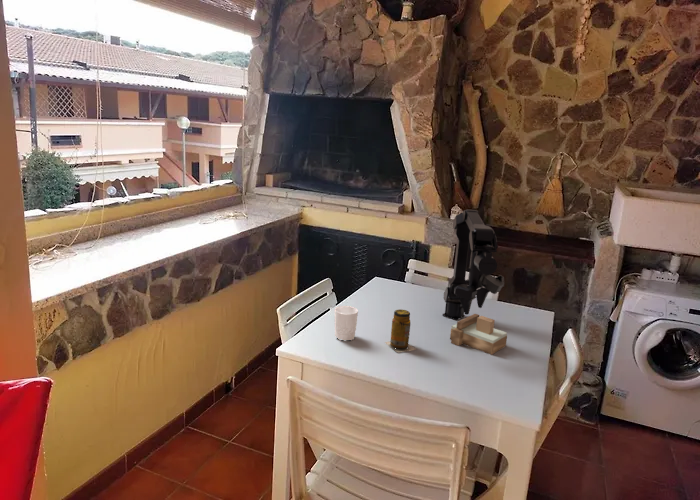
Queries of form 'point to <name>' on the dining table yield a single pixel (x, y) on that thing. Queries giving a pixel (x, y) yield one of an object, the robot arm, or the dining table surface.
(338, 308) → the white cup
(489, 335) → the lid
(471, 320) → the brown wooden bar
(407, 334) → the yellow can
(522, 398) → the dining table surface
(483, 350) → the brown shallow open box
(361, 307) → the dining table surface
